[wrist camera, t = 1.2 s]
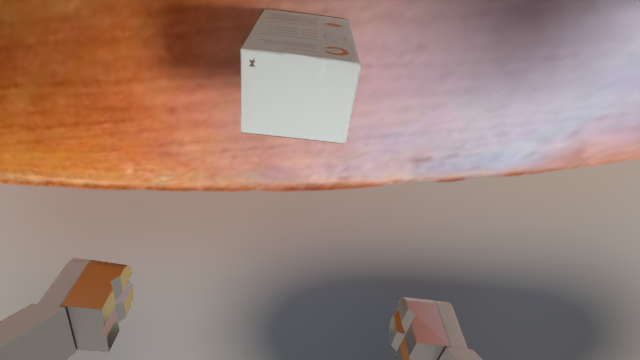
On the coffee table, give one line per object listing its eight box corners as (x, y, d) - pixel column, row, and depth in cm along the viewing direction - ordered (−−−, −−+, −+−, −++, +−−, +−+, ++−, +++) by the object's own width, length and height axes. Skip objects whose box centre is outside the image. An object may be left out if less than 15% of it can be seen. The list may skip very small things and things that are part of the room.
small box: (260, 74, 40) (237, 134, 29) (263, 7, 36) (237, 46, 25) (340, 84, 40) (346, 146, 29) (350, 18, 37) (362, 61, 26)
